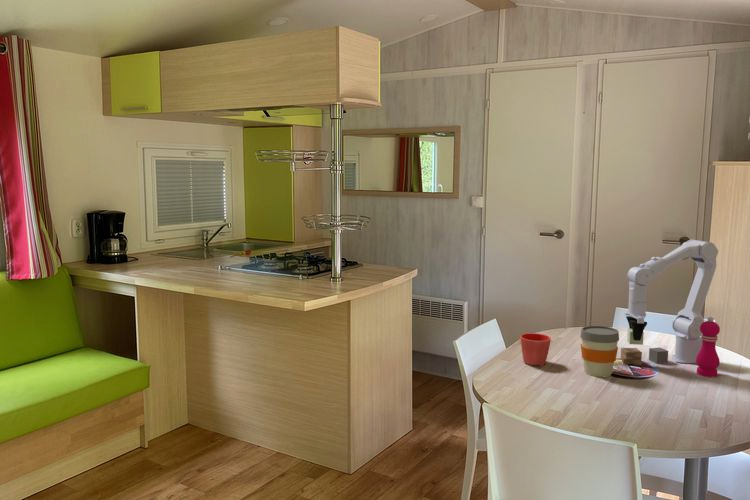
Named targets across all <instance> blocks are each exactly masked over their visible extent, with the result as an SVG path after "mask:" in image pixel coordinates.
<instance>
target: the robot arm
mask: <svg viewBox="0 0 750 500" xmlns="http://www.w3.org/2000/svg"><path fill="white" fill-rule="evenodd" d="M718 254H719V250H718V248H717V246H716V245H715V243H713V242H711V241H704V240H698V239H694V238H692V239H689V240H687V241H685V242H683V243H682V244H681V245H680V246H678V247H677V248H675V249H673V250H672V251H670V252H669V253H667V254H665V255H664V256H663V257H660V256H652V257H650V260H648V261H646V262H644V263H640V264H639V266H633V267H631V268H630V269H629V270H628V272H627V274H625V275H626V276H625V277H626V279H627V281H628V286H629V288H628V289H629V290H628V311H627V312H626V311H625V312H624V316H626V317H625V318H626V320H627V323H628V326H629V328H628V329H632V331H633V339H634V340H637V341H640V340H641V337H642V333H643V332H644V330H645V328H646V327H647V325H648V322H647V321H645V318H646V316H647V313H646V312H647V311H646V310H647V294H648V291H647V290H648V284H650V283H651V280H652V279H653V278H655V277H656V276H659V275H660V274H661V273H665V272H666V271H667V269H668V266H670V265H673V264H674V263H677V262H679V261H681V260H683V259H686V258H690V259H691V260H692V261H693V262H694V263H695V264H696V267H697V271H696V273H695V275H694V279H693V282H692V285H691V288H690V291H689V294H688V296H687V300H686V302H685V305H684V307H683V309H680V311H678V313H677V315H676V316H675V317H674V319H673V321H672V323H671V324H672V325H671V327H672V330H673V331H674V333H675V346H674V347H675V349H674V354H671V357H672V359H673V360H674V361H675V362H676V363H679V364H681V363H682V364H696V365H697V363H696V357H697V355H698V353H699V351H700V350H701V347H702V339H701V335H702V333H701V331H700V326H701V324H702V323H703V322H705V319H704V317H703V315H702V311H703V307H704V305H705V302H706V298H707V296H708V292H709V290H710V286H711V285H712V284H711V283H712V282H713V277H714V276H715V272H716V270H717V257H718Z"/></svg>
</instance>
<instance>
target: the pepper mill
mask: <svg viewBox="0 0 750 500" xmlns="http://www.w3.org/2000/svg"><path fill="white" fill-rule="evenodd" d="M700 331H701V333H702V335H701V336H700V337H701V339H702V347H701V350H700V351H699V353H698V355H697V357H696V363H697V364H696V363H695V364H696V365H697V366H698V367H696V374H697V375H699V376H701V377H706V378H716V377H718V370H717V369H718V368H719V366H720V365H721V363H720V362H721V361H720V360H721V359H720V357H719V355H718V353H717V350H716V349H717V347H716V343H717V341H718V338H719V337H718V335H719V334H720V331H721V327H720V325H719V324H718V323H717V322H715V321H714V317H712V316H709V317H707V320H704V322H703V323H702V324H701V326H700Z"/></svg>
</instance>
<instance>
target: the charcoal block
mask: <svg viewBox="0 0 750 500" xmlns="http://www.w3.org/2000/svg"><path fill="white" fill-rule="evenodd" d="M648 349H649V350H648V361H650V362H651V363H654V364H658V365H659V364H660V365H661V364H667V363H669V362H668V360H669V350H667V349H665V348H662V347H651V348H648Z"/></svg>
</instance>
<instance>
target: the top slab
mask: <svg viewBox="0 0 750 500" xmlns="http://www.w3.org/2000/svg"><path fill="white" fill-rule="evenodd" d="M642 354H643V352H642V351H640V349H638V348H636V347H620V356H621V355H622V356H623V357H624V358H625V359H641V360H643V359H642V358H643V357H642Z"/></svg>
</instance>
